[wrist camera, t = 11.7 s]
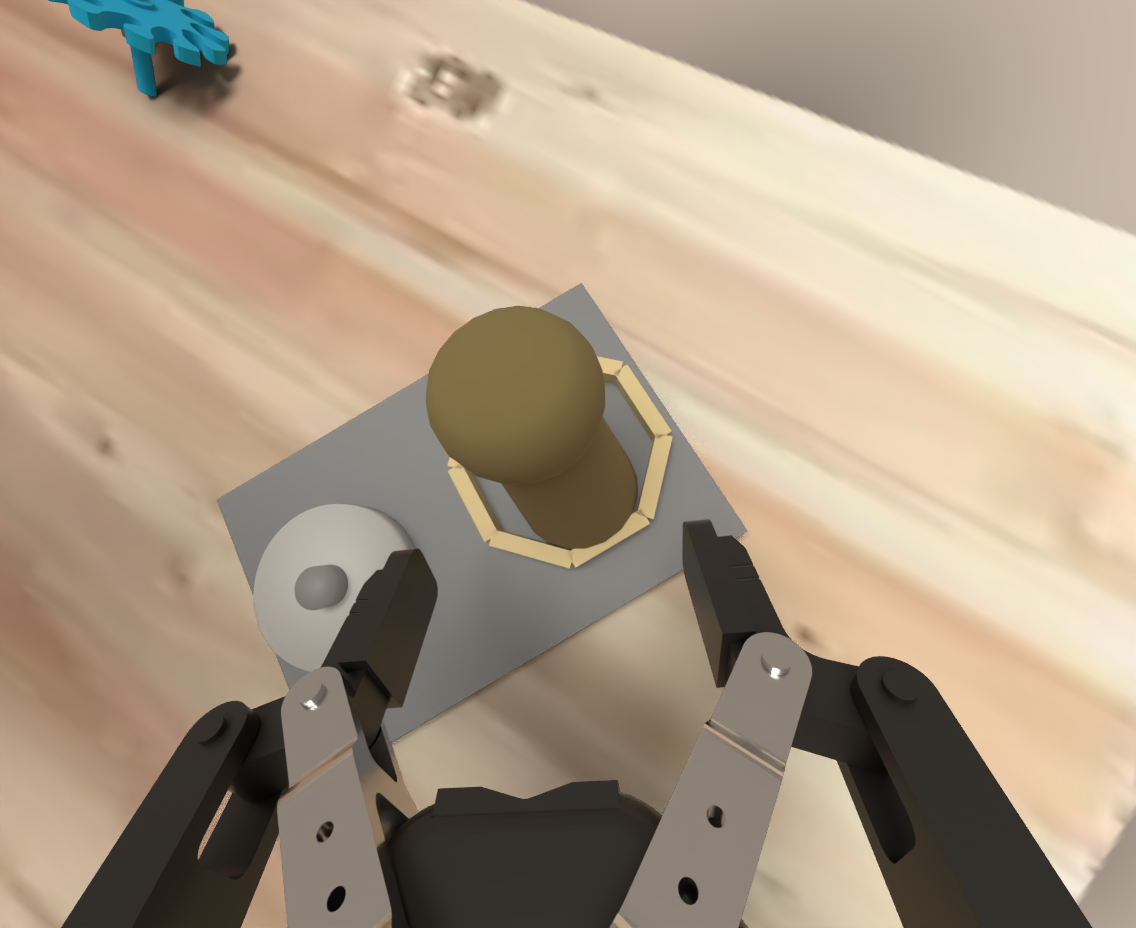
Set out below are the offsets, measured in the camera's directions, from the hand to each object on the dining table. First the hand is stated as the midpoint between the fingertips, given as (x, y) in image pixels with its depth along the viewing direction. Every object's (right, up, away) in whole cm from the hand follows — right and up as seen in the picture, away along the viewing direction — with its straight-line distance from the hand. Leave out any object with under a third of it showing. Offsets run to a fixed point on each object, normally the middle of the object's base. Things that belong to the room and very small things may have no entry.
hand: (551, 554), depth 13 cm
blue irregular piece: (-28, +33, +19) cm, 47 cm away
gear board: (-5, 0, +10) cm, 11 cm away
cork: (+1, +1, +8) cm, 8 cm away
